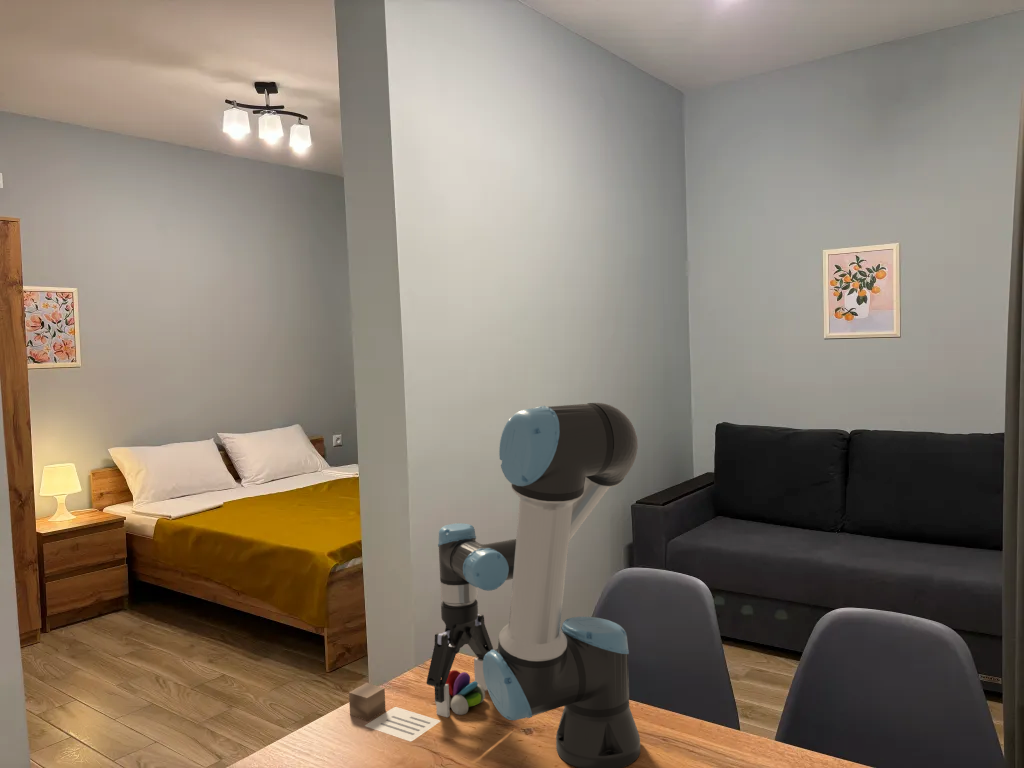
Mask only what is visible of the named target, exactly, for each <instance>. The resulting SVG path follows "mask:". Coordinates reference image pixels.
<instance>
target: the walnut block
mask: <svg viewBox="0 0 1024 768" xmlns="http://www.w3.org/2000/svg"><path fill="white" fill-rule="evenodd" d="M385 689H386V688H385V687H381V686H378V685H375V684H372V683H368V682H365V683H364V684H362V685H360V686H358V687H356V688H355V689H353V690H350V691H349V692H348V699H349V702H348V703H349V715H350V716H352V717H355V718H358V719H361V720H365V721H367V722H368V721H370V720H372V719H373V718H374V719H375V717H377V716H378V715H380V714H383V713H384V712H386V695H385V694H386V693H385Z"/></svg>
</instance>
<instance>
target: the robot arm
mask: <svg viewBox="0 0 1024 768" xmlns="http://www.w3.org/2000/svg"><path fill="white" fill-rule="evenodd" d="M498 448H499V451H498V452H499V453H498V454H499V455H498V457H499V460H500V461H501V464H500V469H501V471H502V473H503V475H504V477H505V479H506V480H507V481H508V482H509V483H510V484H511V489H512V491H513V492H514V494H515V495H517V496H518V498H519V500H518V501H519V503H518V515H517V526H516V527H517V528H516V538H514V539H507V540H503V541H501V540H500V541H495V542H491V543H485V544H483V543H480V542H477V541H476V539H477V536H476V530H475V527H474V526H473V525H471V524H469V523H460V522H459V523H458V522H457V523H449V524H446V525H443V526H442V527H441V528H440V529H439V530H438V544H437V547H438V560H439V564H438V565H439V580H440V599H441V603H440V609H441V610H440V612H441V620H442V621H443V622H444V625H445V628H444V631H443V632H442V633H440V632H435V634H434V646H433V651H432V656H431V659H430V663H429V669H428V674H427V677H426V685H429V686H431V687H434V702H435V701H436V703H435V706H436V715H437V716H440V717H441V716H442V717H444V718H447V719H448V718H449V717H450V708H449V685H448V684H446V681H447V678H448V676H449V673H450V671H452V670H451V669H452V667H453V664H454V661H455V659H456V656H457V654H459V653H460V650H461V648H463V646H465V645H468V646H469V648H470V649H471V650H472V652H473V653H474V655H475V656H476V657H475V658H474V659H473V665H474V666H473V667H474V668H473V669H474V672H473V673H474V681H476V682H477V683H478V684H479V685H481V686H482V687H483V689H484V691H485V692H488V695H489V697H490V699H491V701H492V704H493V705H494V707H495V708H496V710H497V711H498V713H499V714H500V715H501V716H502V717H503V718H505V719H506V720H509V721H518V720H521V719H522V720H523V719H530V718H532V717H533V716H536V715H541V714H543V713H546V712H549V711H553V710H556V709H558V708H562V707H564V708H563V709H562V710H563V711H562V713H561V717H560V720H559V724H558V727H557V731H556V737H555V745H556V746H555V749H556V752H557V755H558V756H559V758H560V759H562V761H563V762H565V763H567V764H569V765H571V766H573V767H575V768H625V767H628V766H629V765H631V764H633V763H634V762H635V761H636V760H637V759H638V758H639V756H640V754H641V737H640V733H639V731H638V728H637V725H636V721H635V719H634V715H633V713H632V711H631V708H630V681H629V677H630V676H629V654H630V650H629V645H628V634H627V632H626V630H625V629H624V627H622V626H621V625H620V624H619V623H616V622H614V621H611V620H609V619H604V618H602V617H601V618H600V617H594V616H574V617H569V618H567V619H565V620H563V622H562V625H561V620H562V611H563V610H562V609H563V600H564V592H565V582H566V573H567V563H568V561H567V560H568V554H569V553H568V552H569V544H570V541H571V540H572V538H573V537H574V535H575V534H576V533H577V531H579V529H580V527H581V526H582V525H583V523H584V522H585V520H586V519H587V518H588V517H589V516H590V514H591V513H592V511H593V510H594V509H595V507H597V505H598V504H599V502H600V500H602V498H603V497H604V495H605V494H606V493H607V492H608V490H609V488H611V487H616V486H619V485H620V484H621V483H622V481H623V480H624V479H625V478H626V476H627V475H628V473H629V472H630V470H631V468H632V467H633V465H634V463H635V461H636V458H637V454H638V453H637V452H638V448H639V447H638V436H637V431H636V429H635V427H634V425H633V423H632V422H631V420H630V418H628V416H627V415H626V414H625V413H624V412H623V411H621V410H620V409H618V408H617V407H615V406H613V405H610V404H606V403H603V402H589V403H579V404H567V405H565V404H564V405H554V406H546V405H541V406H540V405H539V406H536V407H534V408H526V409H521V410H519V411H517V412H515V413H514V414H513V415H512V416H511V417H510V418H509V419H508V420H507V422H506V423H505V425H504V427H503V430H502V432H501V436H500V441H499V447H498ZM509 580H512V586H511V597H510V608H509V619H508V620H509V621H508V623H507V624H506V625H504V626H503V627H502V629H501V630H500V631H499V634H498V645H497V649H494V647H493V645H492V644H493V643H492V641H491V638H490V636H489V633H488V630H487V627H486V624H485V623H486V622H485V616H484V614H480V613H479V609H478V607H479V606H478V604H479V603H478V600H477V598H478V593H479V592H478V589H480V590H483V591H488V592H489V591H495V590H497V589H498V588H500V587H501V586H502V585H503V584H504V583H505V582H506V581H509Z"/></svg>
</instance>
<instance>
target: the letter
mask: <svg viewBox="0 0 1024 768" xmlns="http://www.w3.org/2000/svg"><path fill="white" fill-rule="evenodd" d="M440 723H441V720H439V719H436V718H434V717H430V716H427V715H424V714H420V713H418V712H414V711H411V710H407V709H405V708H401V707H397V706H394V707H393V708H390V709H389V710H388V711H385V712H383V713H381V715H380V716H378V717H376V718H374V719H373V720H371V721H370V722H368V723H366V724H365V725H364V727H366V728H369V729H372V730H375V731H379V732H381V733H383V734H387V735H390V736H394V738H395V737H396V738H399V739H402V740H404V741H407V742H413V741H414V740H416V739H417V738H419V737H420V736H421V735H423V734H424V733H426V732H428V731H429V730H430V729H432V728H433V727H435V726H436V725H437V724H440Z"/></svg>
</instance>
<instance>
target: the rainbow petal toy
mask: <svg viewBox="0 0 1024 768" xmlns="http://www.w3.org/2000/svg"><path fill="white" fill-rule="evenodd" d="M446 684H448V685H449V709H450V708H451V711H452V712H453V713H454V714H456V715H460V716H462V715H466V714H467V713H468V711H469V708H470V707H474V706H476V705H478V704H482V703H483V702H484V700H485V698H486V691H484V689H483V687H482V686H481V685H479V684H478V683H477V682H476V681H475V680H474V681H472V682H471V676H470V674H469V673H468V672H466V671H464V672H460V671H458V670H455V669H453V670H450V673H449V676H448V678H447V681H446ZM434 703H435V704H436V701H435V700H434Z"/></svg>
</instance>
